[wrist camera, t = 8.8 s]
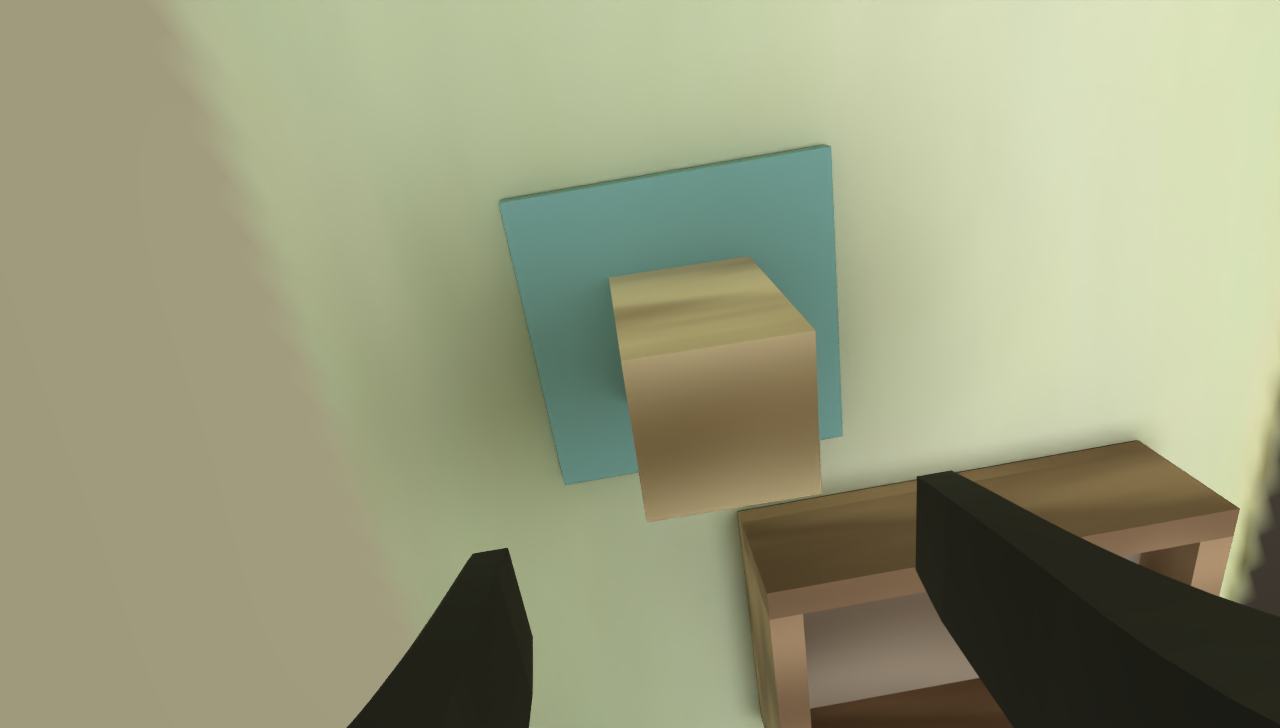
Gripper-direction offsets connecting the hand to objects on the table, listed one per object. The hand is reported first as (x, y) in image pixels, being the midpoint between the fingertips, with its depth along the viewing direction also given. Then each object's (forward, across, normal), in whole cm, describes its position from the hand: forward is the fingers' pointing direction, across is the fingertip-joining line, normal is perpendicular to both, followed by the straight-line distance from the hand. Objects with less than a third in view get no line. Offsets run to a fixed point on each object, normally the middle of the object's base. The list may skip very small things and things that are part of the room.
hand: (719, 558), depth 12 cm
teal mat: (+10, -1, -1) cm, 10 cm away
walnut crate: (+10, -9, +11) cm, 17 cm away
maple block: (+9, -1, -1) cm, 9 cm away
